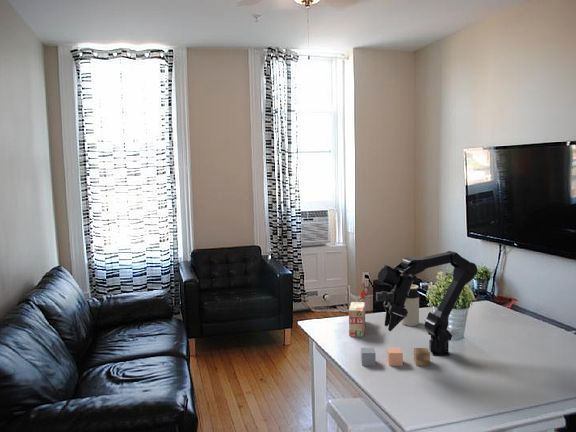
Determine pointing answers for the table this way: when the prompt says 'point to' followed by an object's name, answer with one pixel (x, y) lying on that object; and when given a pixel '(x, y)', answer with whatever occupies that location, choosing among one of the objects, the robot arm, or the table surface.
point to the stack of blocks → (356, 319)
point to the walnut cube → (421, 357)
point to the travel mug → (412, 307)
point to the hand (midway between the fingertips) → (387, 328)
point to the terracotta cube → (394, 356)
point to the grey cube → (368, 357)
